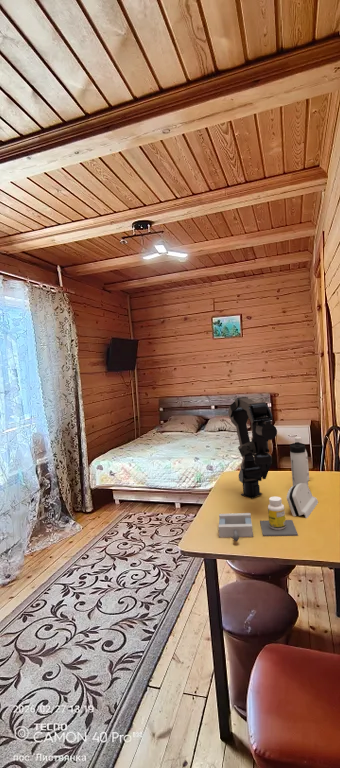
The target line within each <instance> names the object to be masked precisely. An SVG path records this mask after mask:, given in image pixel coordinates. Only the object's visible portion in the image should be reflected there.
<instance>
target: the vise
mask: <svg viewBox="0 0 340 768" xmlns="http://www.w3.org/2000/svg"><path fill="white" fill-rule="evenodd" d="M218 520H219V521H218V526H217V528H218V535H219V536H218V538H232V540H233V541H234V542H238V540H239V539H240V538H253V537H254V532H253V523H252V516H251V512H241V513H240V512H239V513H238V512H234V513H232V512H230V513H219V514H218Z"/></svg>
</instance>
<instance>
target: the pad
mask: <svg viewBox="0 0 340 768" xmlns="http://www.w3.org/2000/svg"><path fill="white" fill-rule="evenodd" d="M285 521H286V527H285V528H284V529H281V530H275V529H272V528H271V527H270V525H269V519H267V520H259V523H260V529H261V533H262V534H261V535H262V537H288V536H289V537H290V536H291V537H295V536H297V537H298V536H299V534H298V531H297V529H296V526H295V523H294V521H293V520H292V519H285Z"/></svg>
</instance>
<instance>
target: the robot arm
mask: <svg viewBox="0 0 340 768" xmlns="http://www.w3.org/2000/svg"><path fill="white" fill-rule="evenodd" d="M227 413H228V417H229V419H230V422H231V424H233V425H234V426H235V429H236V434H237V438H238V442H239V446H238V447H237V450H238V452H239V454H240V455H241V457H242V461H241V463H240V468H239V469H240V470H239V473H238V480H239V482H240V483H242V490H243V491H242V493H240V496H242V497H243V496H244V497H246V498H250V499H254V498H257V497H258V496H260V495H263V493H262V492H261V491H260V490H261V489H260V483H259V482H262V480H266V479H267V477H268V473H269V470H270V468H271V466H272V463H273V457H272V455H271V453H270V449H269V441H271V440H273V439H275V438H276V437H277V434H278V430H277V427H276V426H275V425H274V424H273V423H272V421H273V414H272V411H271V409H270V407H269V405H268V404H267V402H265V401H254V400H252V399H249V398H248V396H240V397H236V398H235V400H234V401H233V402H232V403H231V404H230V405H229V408H228V411H227ZM248 420H249V422H250V423H251V424H250V425H251V439H250V436H249V435H250V434H249V429H248V427H247V426H248V425H247V424H248Z"/></svg>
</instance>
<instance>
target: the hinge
mask: <svg viewBox="0 0 340 768" xmlns="http://www.w3.org/2000/svg"><path fill="white" fill-rule="evenodd" d="M286 501H287V504H288V507H289V509H290V512H291V514H292V517H297V515H298V516H302V515H304V517H305V519H308V518H309V516H310V515H311V514H312V512H313V511H314V509H315V508H316V507H317V505H318V503H319V501H318V498H317V497H316V496H313V494H312V492H311V489H310V488H309V485H308V486H307V484H306V483H300V484H296V485H294V486H293V485H292V486H290V488H289V489H288V491H287V494H286Z"/></svg>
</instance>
